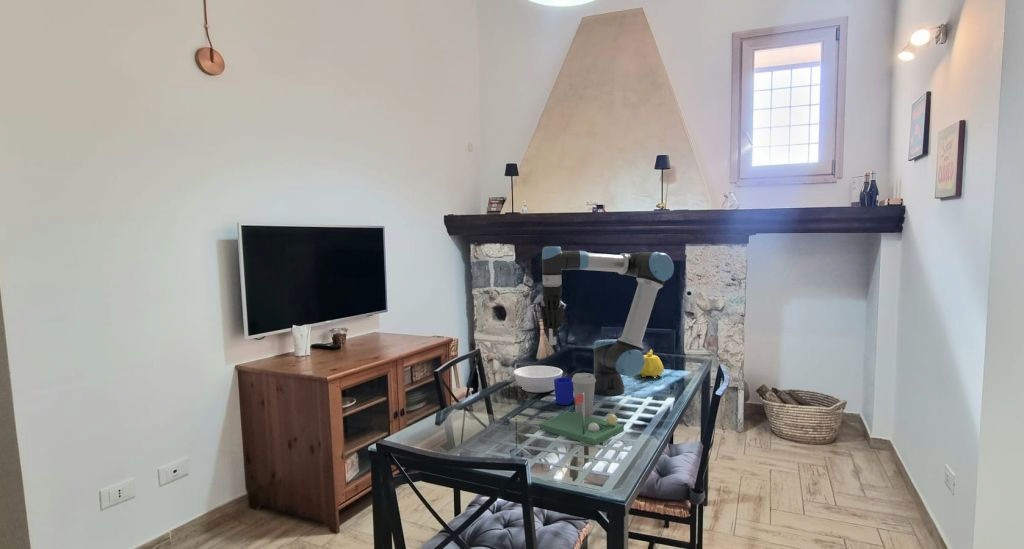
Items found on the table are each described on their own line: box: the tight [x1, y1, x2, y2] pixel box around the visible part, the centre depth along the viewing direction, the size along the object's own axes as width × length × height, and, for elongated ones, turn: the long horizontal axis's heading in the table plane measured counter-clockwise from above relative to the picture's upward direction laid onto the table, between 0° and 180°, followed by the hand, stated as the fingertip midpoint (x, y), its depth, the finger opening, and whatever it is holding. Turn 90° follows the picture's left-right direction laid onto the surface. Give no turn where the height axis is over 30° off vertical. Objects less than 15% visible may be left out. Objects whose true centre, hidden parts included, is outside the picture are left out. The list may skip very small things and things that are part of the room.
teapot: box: [638, 349, 665, 378], centre depth 268 cm, size 20×15×12 cm
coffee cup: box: [571, 372, 596, 416], centre depth 213 cm, size 10×10×15 cm
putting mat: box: [538, 411, 625, 446], centre depth 195 cm, size 18×24×2 cm
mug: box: [554, 376, 575, 406], centre depth 226 cm, size 8×12×10 cm
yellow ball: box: [605, 413, 619, 426], centre depth 193 cm, size 4×4×4 cm
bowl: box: [513, 365, 564, 393], centre depth 249 cm, size 22×22×8 cm
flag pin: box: [574, 393, 585, 434], centre depth 184 cm, size 5×1×14 cm, turn 137°
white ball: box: [588, 423, 599, 431], centre depth 191 cm, size 4×4×4 cm
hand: (552, 344), depth 217 cm, fingers closed
